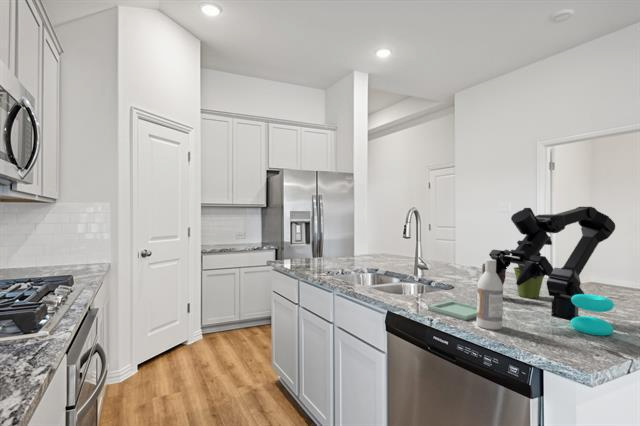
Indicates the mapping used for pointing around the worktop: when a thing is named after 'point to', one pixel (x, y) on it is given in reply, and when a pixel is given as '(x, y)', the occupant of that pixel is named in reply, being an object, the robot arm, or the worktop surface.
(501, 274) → the mortar and pestle
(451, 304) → the tray
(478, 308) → the bath foam
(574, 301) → the donuts
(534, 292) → the plant pot
